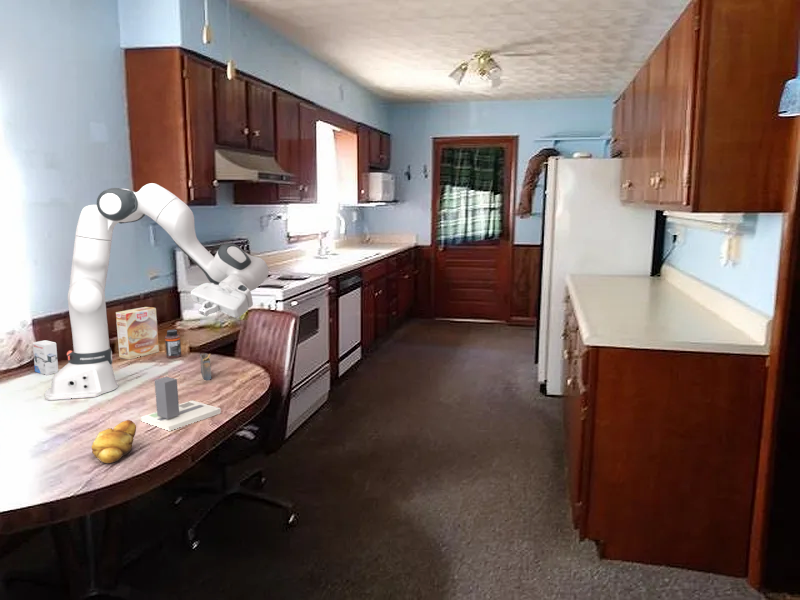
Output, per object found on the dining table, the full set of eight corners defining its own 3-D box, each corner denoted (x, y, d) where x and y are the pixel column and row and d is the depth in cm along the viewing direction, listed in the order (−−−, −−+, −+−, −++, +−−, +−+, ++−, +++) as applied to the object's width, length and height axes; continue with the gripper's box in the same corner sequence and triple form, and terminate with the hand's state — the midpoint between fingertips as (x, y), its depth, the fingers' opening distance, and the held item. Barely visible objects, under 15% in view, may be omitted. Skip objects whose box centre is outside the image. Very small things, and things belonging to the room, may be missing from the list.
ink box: (34, 372, 233) (31, 342, 231) (47, 369, 238) (44, 339, 236) (46, 375, 229) (43, 345, 227) (59, 372, 233) (56, 342, 231)
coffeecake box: (129, 360, 250) (125, 313, 247) (118, 357, 253) (114, 311, 250) (160, 351, 263) (156, 307, 260) (149, 349, 266) (145, 306, 263)
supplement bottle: (167, 355, 256) (165, 329, 255) (182, 354, 258) (180, 328, 256) (165, 359, 251) (163, 332, 249) (180, 358, 252) (178, 331, 250)
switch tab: (167, 419, 177) (164, 382, 175) (157, 415, 180) (154, 379, 178) (179, 415, 180) (176, 379, 178) (169, 411, 183) (166, 376, 181)
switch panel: (169, 431, 172) (169, 426, 172) (141, 421, 180) (140, 416, 180) (220, 413, 187) (220, 408, 187) (192, 404, 195) (192, 399, 195)
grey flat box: (212, 380, 222) (211, 355, 220) (203, 381, 221) (202, 355, 219) (209, 372, 232) (208, 348, 230) (201, 373, 231) (199, 348, 229)
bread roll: (122, 466, 151) (119, 435, 149) (82, 467, 150) (78, 437, 149) (140, 445, 163) (138, 417, 162) (103, 446, 163) (100, 418, 161)
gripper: (206, 274, 204) (175, 295, 195) (253, 291, 196) (223, 315, 186) (210, 289, 208) (180, 311, 198) (256, 306, 200) (227, 330, 190)
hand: (201, 313), depth 192 cm, fingers closed
